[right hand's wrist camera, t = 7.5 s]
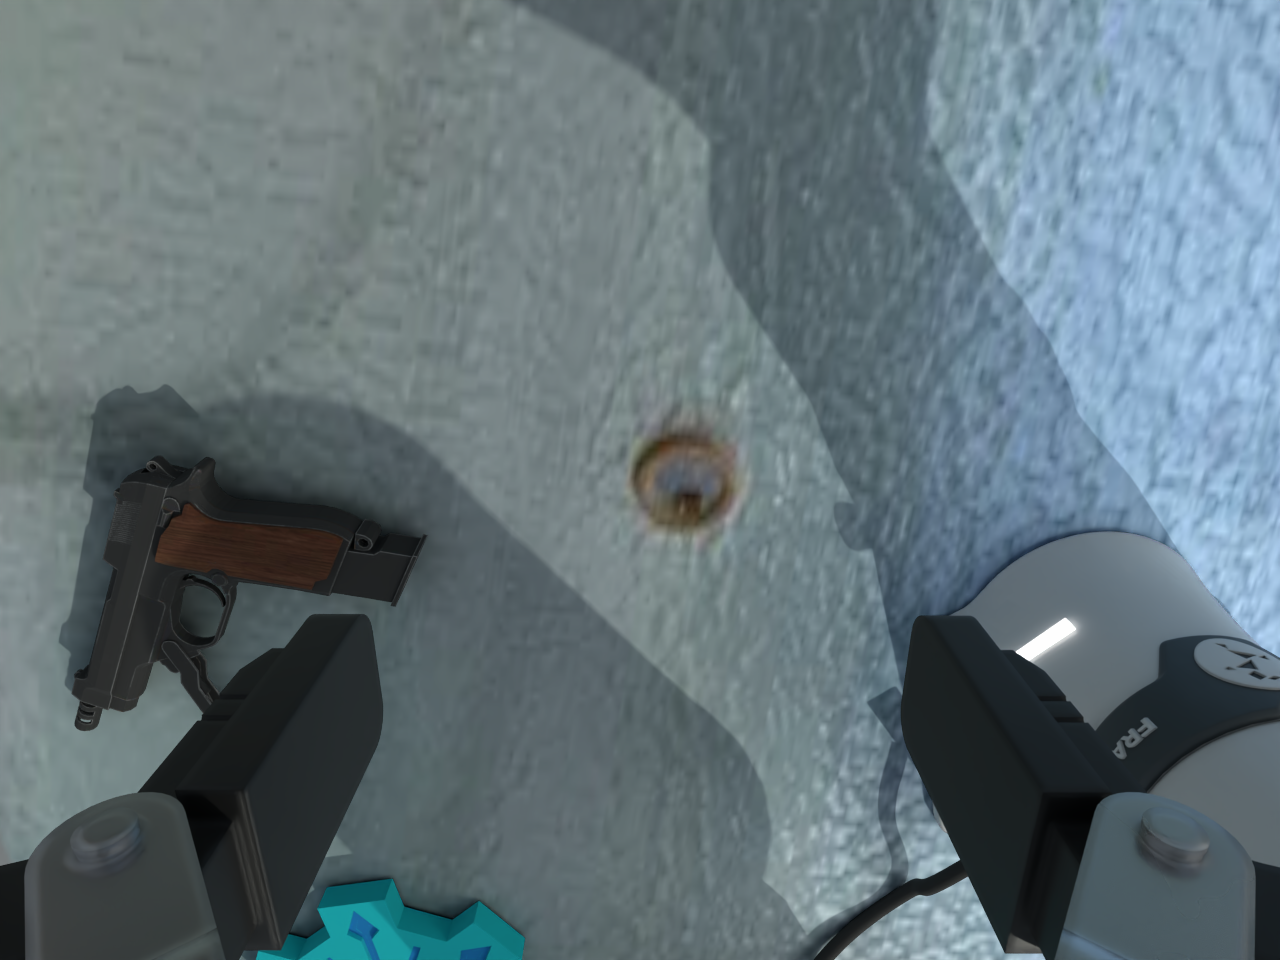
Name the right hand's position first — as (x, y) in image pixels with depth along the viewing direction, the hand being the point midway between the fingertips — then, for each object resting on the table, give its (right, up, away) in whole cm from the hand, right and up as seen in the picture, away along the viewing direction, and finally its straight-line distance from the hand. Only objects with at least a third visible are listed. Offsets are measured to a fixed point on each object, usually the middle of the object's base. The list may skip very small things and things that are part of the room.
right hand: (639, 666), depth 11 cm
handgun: (-23, -5, +33) cm, 41 cm away
